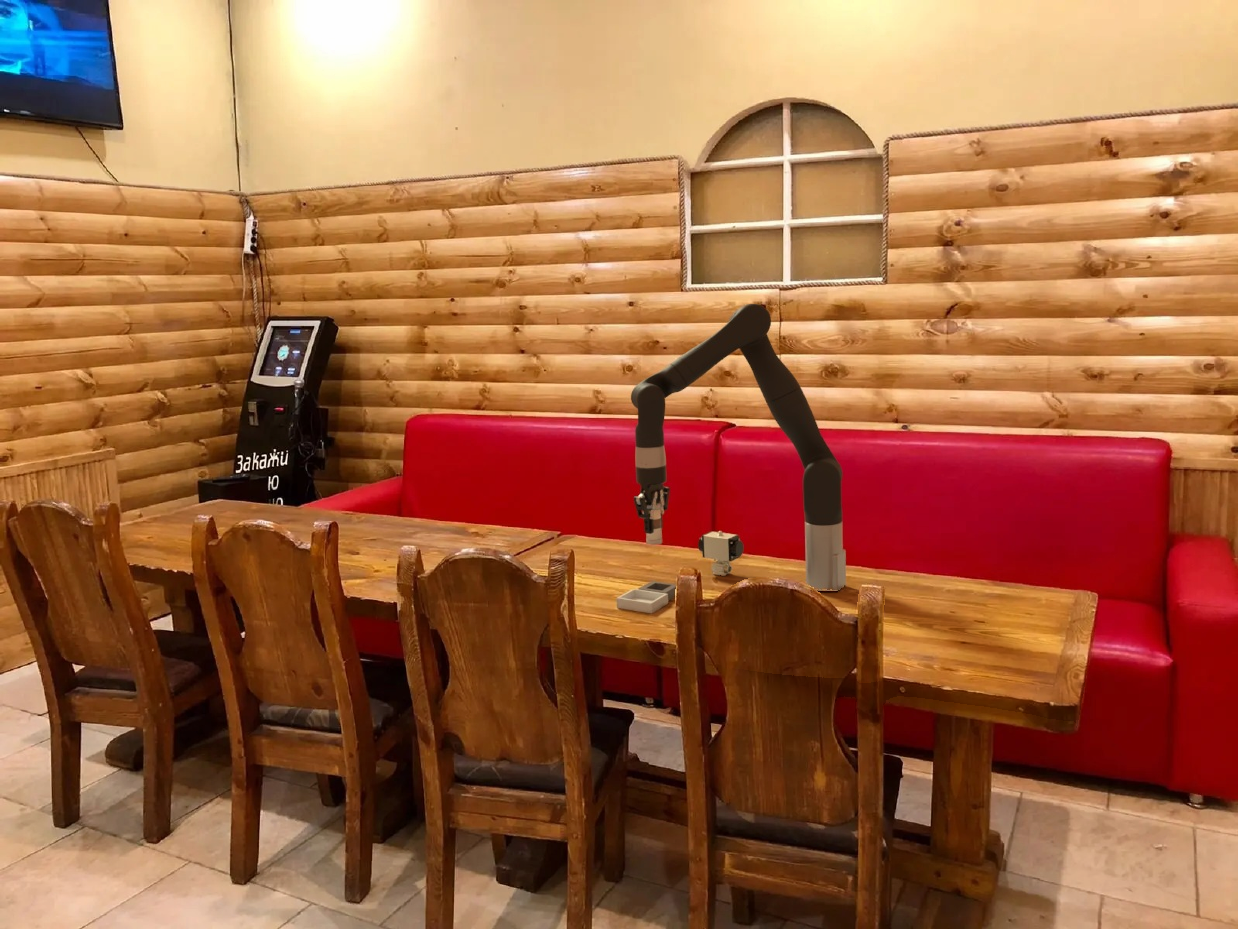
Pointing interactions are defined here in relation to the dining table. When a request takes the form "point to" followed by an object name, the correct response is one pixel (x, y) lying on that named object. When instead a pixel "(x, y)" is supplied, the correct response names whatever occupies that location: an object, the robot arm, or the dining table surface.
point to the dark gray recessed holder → (660, 588)
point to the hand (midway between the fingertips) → (653, 530)
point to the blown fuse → (655, 527)
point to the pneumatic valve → (721, 550)
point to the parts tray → (642, 600)
